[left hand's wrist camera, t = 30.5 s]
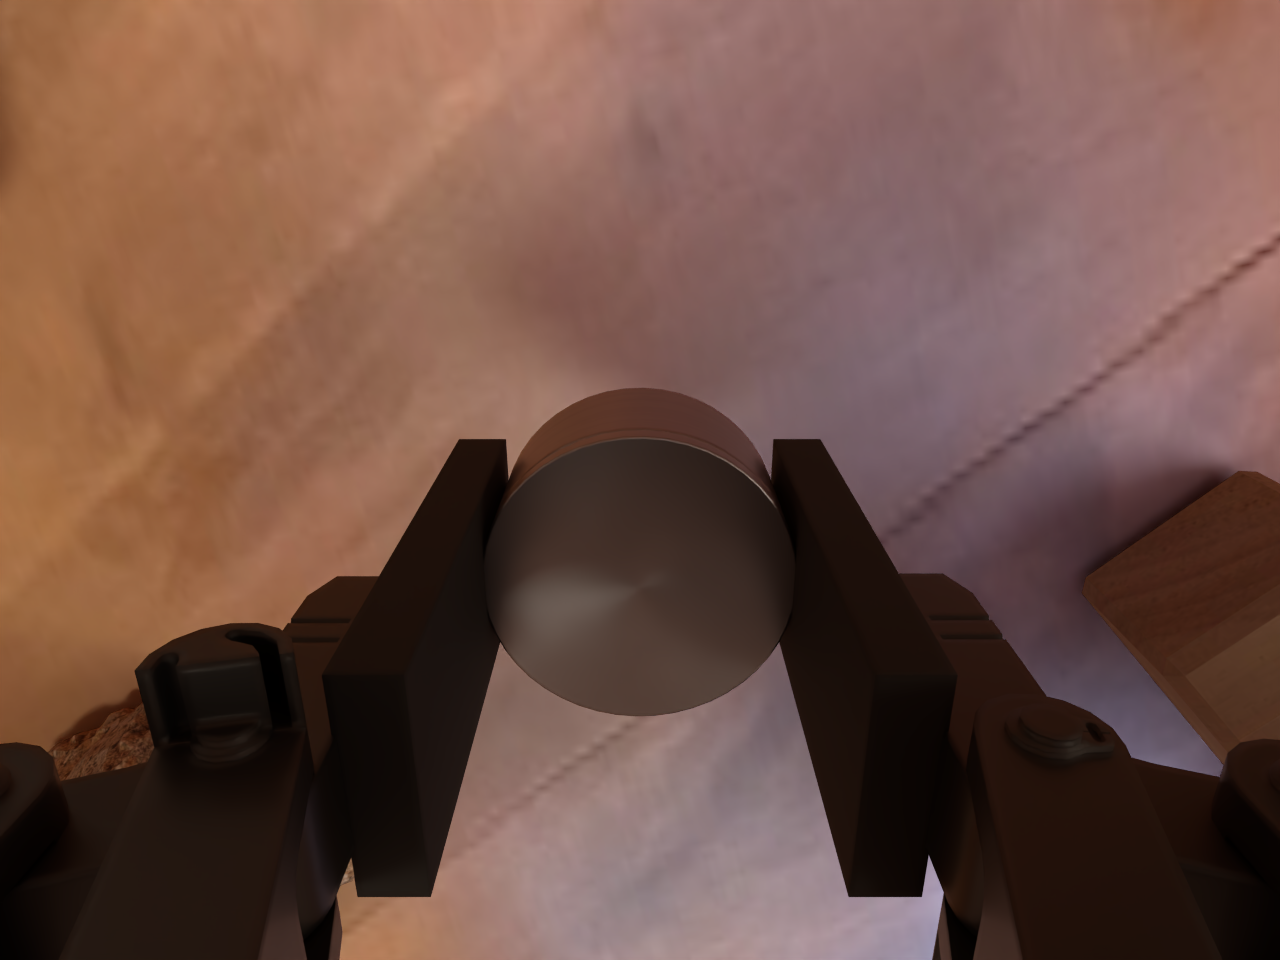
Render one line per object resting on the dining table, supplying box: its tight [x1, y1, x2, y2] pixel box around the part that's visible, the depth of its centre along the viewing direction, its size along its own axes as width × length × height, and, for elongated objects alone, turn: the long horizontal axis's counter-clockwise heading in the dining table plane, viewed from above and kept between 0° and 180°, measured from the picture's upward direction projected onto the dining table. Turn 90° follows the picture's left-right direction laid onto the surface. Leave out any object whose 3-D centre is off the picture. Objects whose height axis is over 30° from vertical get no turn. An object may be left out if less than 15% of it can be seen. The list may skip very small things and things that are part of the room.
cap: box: [483, 388, 796, 716], centre depth 13 cm, size 4×4×2 cm
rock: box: [48, 703, 354, 886], centre depth 26 cm, size 15×10×6 cm
